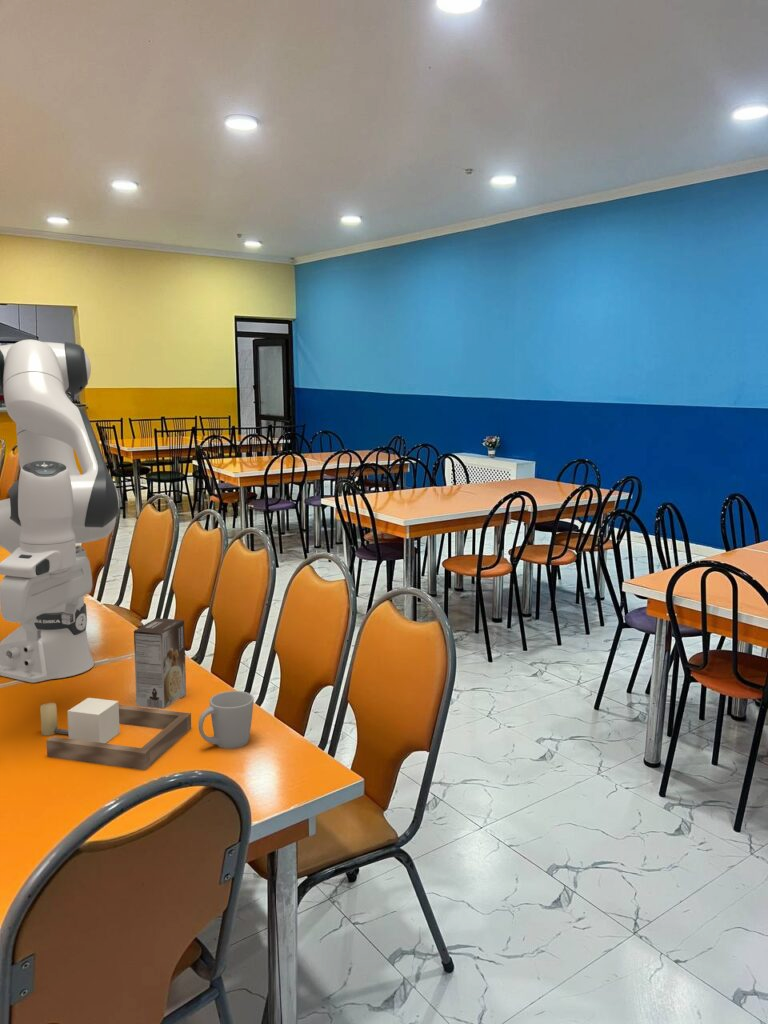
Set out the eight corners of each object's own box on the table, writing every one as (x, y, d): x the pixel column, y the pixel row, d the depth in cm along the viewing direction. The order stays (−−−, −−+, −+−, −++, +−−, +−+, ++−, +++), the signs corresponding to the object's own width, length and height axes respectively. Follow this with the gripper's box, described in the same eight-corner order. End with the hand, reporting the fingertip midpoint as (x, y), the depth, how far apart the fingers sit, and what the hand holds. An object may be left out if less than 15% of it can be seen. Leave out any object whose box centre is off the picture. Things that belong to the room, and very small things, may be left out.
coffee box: (158, 691, 154) (156, 616, 151) (187, 694, 152) (185, 619, 150) (135, 709, 145) (132, 630, 142) (165, 712, 144) (163, 632, 141)
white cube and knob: (31, 738, 130) (30, 706, 129) (54, 724, 136) (52, 693, 135) (99, 747, 127) (98, 714, 126) (119, 732, 133) (118, 701, 132)
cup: (262, 746, 130) (262, 700, 129) (210, 763, 124) (209, 715, 123) (240, 731, 136) (240, 687, 135) (189, 747, 130) (189, 700, 128)
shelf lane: (47, 760, 124) (46, 740, 123) (103, 721, 139) (102, 702, 139) (145, 774, 120) (144, 753, 119) (191, 732, 135) (191, 713, 135)
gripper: (70, 542, 140) (72, 612, 142) (-10, 567, 120) (-5, 648, 123) (99, 544, 138) (102, 615, 141) (24, 570, 119) (28, 652, 121)
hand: (51, 631), depth 132 cm, fingers open, 8 cm apart
